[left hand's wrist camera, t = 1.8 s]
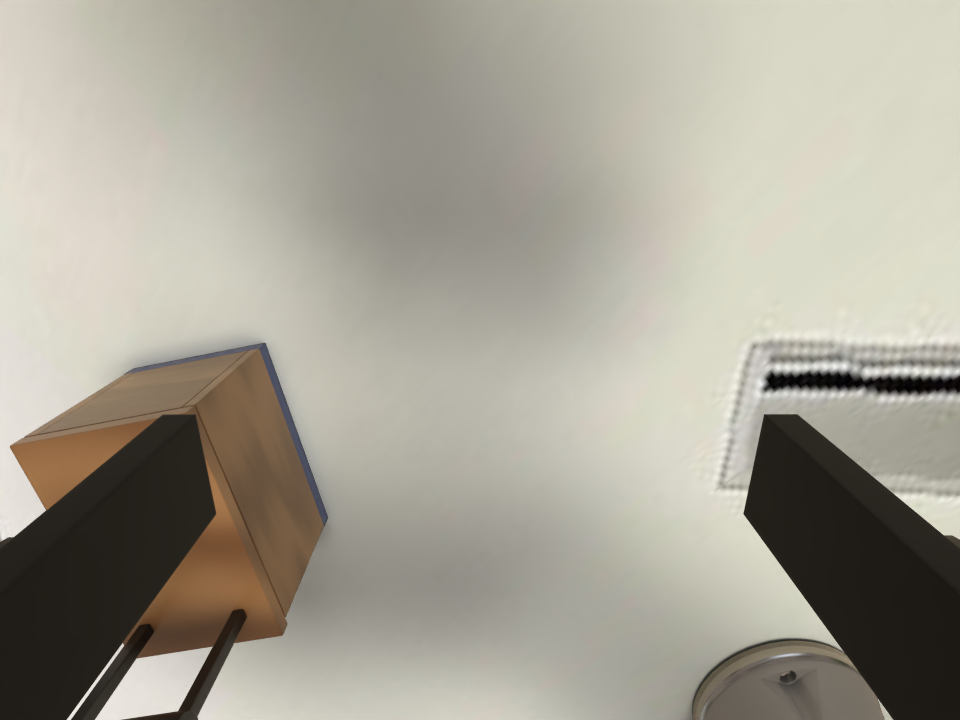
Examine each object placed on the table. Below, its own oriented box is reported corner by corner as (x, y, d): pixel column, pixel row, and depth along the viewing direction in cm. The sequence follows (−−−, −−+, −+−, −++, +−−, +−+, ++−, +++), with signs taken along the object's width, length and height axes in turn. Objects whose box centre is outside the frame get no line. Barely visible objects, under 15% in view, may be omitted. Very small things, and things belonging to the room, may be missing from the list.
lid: (288, 623, 33) (224, 778, 25) (140, 646, 34) (31, 805, 26) (194, 405, 28) (75, 510, 20) (22, 437, 29) (-163, 552, 20)
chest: (328, 517, 42) (286, 617, 33) (210, 537, 43) (137, 641, 34) (265, 342, 37) (195, 404, 28) (133, 368, 38) (22, 437, 29)
